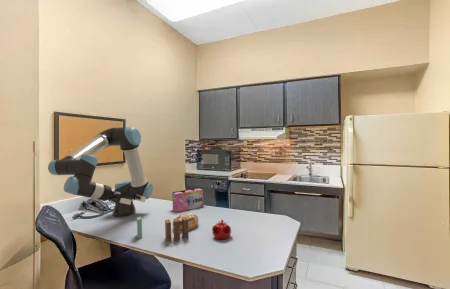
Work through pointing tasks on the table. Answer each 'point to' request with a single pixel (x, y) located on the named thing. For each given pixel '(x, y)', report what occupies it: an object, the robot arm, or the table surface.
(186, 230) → the walnut domino
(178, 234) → the walnut domino
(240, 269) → the table surface
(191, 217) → the trinket box
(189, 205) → the gum box
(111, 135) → the robot arm
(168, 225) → the walnut domino
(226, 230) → the pomegranate
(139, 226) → the domino
